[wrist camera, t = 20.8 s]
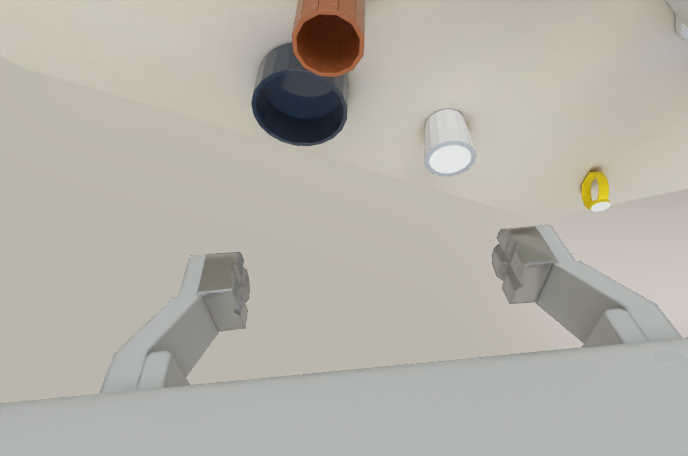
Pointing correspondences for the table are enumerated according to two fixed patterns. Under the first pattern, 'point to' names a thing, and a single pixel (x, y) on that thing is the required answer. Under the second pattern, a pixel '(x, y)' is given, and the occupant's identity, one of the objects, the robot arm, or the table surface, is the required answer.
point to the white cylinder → (448, 144)
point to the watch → (602, 200)
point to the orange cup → (329, 35)
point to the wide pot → (298, 100)
